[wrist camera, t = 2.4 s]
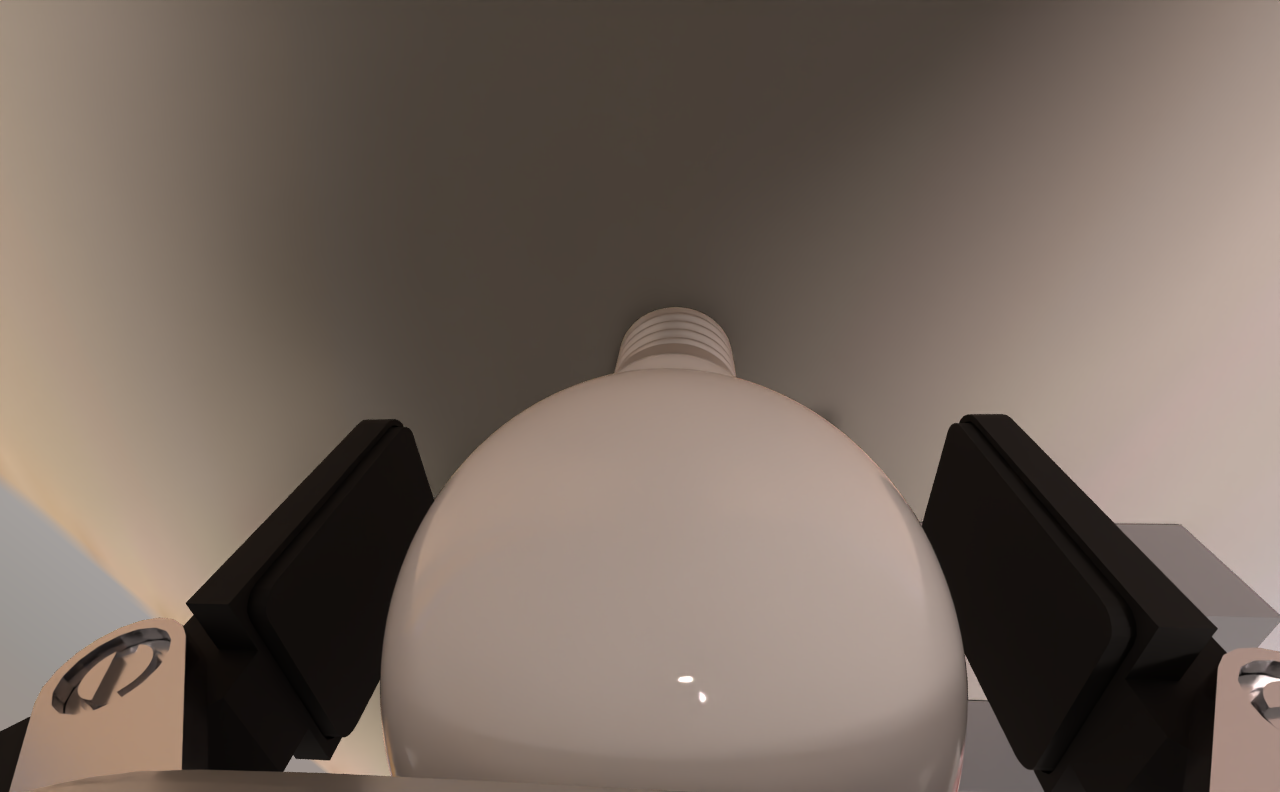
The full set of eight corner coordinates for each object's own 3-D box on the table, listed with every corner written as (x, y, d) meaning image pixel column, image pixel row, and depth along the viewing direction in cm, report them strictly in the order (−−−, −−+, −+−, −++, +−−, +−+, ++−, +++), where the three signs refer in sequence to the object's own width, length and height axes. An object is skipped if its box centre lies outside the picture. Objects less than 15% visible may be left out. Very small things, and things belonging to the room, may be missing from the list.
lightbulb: (505, 267, 13) (-32, 852, 3) (776, 173, 11) (1290, 745, 2) (604, 471, 16) (479, 1085, 6) (827, 418, 14) (1116, 1119, 5)
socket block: (519, 518, 17) (484, 612, 14) (1181, 524, 15) (1300, 633, 12) (562, 704, 22) (544, 800, 19) (1054, 724, 20) (1115, 833, 17)
